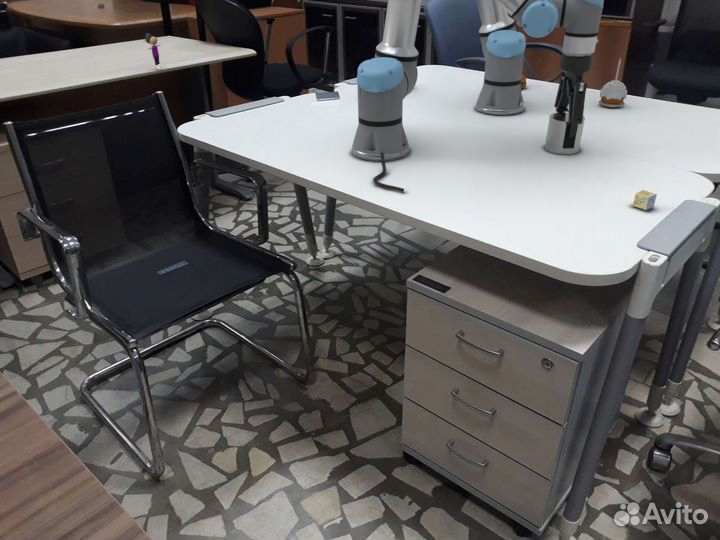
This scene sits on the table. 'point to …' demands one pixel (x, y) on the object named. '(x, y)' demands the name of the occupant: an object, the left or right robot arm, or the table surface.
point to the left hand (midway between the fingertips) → (562, 142)
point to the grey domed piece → (613, 92)
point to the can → (561, 134)
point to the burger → (523, 81)
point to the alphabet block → (644, 200)
